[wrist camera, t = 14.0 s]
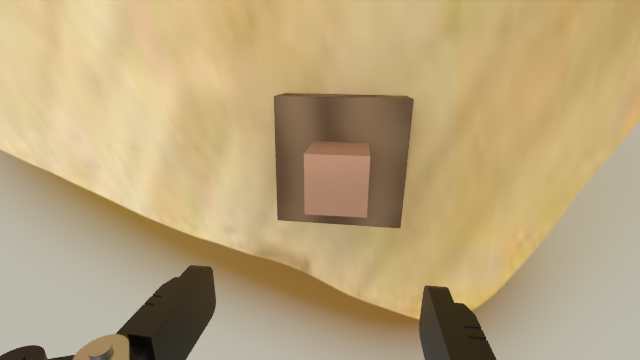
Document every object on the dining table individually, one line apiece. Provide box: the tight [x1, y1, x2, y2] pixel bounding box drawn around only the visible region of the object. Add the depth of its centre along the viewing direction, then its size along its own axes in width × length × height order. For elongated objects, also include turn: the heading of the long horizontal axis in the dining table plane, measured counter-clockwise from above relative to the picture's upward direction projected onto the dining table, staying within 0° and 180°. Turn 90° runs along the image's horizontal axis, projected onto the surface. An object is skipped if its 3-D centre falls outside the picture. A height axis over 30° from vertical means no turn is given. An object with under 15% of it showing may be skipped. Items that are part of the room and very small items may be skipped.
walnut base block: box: [274, 93, 414, 228], centre depth 32 cm, size 12×12×5 cm
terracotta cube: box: [304, 141, 370, 218], centre depth 27 cm, size 5×5×5 cm
